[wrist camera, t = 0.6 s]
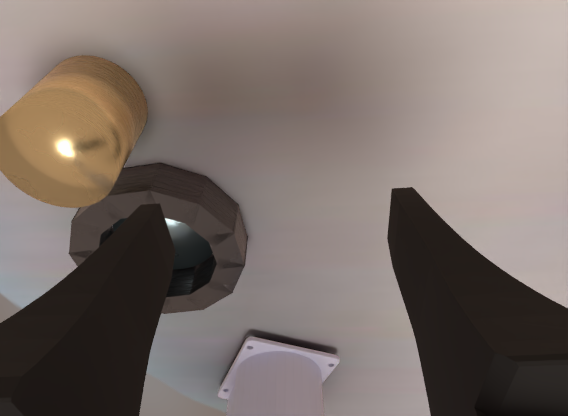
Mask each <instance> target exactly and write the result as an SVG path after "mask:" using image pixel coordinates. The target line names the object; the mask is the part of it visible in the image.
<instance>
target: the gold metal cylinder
mask: <svg viewBox="0 0 568 416" xmlns="http://www.w3.org/2000/svg"><path fill="white" fill-rule="evenodd" d="M147 115H148V109H147V103H146V99H145V96H144V94H143V92H142V90H141V88H140V87H139V85H138V84H137V82H136V81H135V80H134V79H133V78H132V77H131V75H130V74H129V73H127V72H126V71H125V70H124V69H122V68H121V67H119V66H118V65H116V64H114V63H112V62H111V61H108V60H106V59H103V58H99V57H95V56H85V55H82V56H75V57H71V58H68V59H66V60H64V61H62V62H61V63H59V64H58V65H57V66H56V67H55V68H54V69H53V70H52V71H51V72H49V73H48V74H47V75H46V76H45V77H44V78H43V79H42V80H41V81H40V82H38V83H37V84H36V85H35V86H34V87H33V88H32V89H31V90H30V91H29V92H27V93H26V94H25V95H24V96H23V97H22V98H21V99H20V100H19V101H18V102H16V103H15V104H14V105H13V106H12V107H11V108H10V109H9V110H8V111H7V112H5V113H4V114H3V115H2V116H1V117H0V170H1V171H2V173H3V174H4V175H5V176H6V177H7V178H8V179H9V180H10V181H11V182H12V183H13V184H14V185H15V186H16V187H18V188H19V189H20V190H22V191H23V192H25V193H26V194H28V195H30V196H31V197H33V198H35V199H37V200H40V201H42V202H45V203H48V204H51V205H55V206H60V207H70V208H76V207H85V206H89V205H92V204H95V203H97V202H99V201H101V200H102V199H103V198H105V197H106V196H107V195H108V194H109V192H110V191H111V189H112V188H113V186H114V184H115V182H116V180H117V178H118V176H119V174H120V172H121V171H122V169H123V167H124V165H125V163H126V161H127V159H128V157H129V155H130V153H131V152H132V150H133V148H134V146H135V144H136V142H137V140H138V138H139V136H140V134H141V133H142V131H143V129H144V127H145V124H146V121H147Z"/></svg>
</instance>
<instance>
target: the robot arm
mask: <svg viewBox="0 0 568 416" xmlns="http://www.w3.org/2000/svg"><path fill="white" fill-rule="evenodd" d="M388 244H389V250H390V255H391V260H392V265H393V269H394V272H395V275H396V279H397V282H398V285H399V288H400V291H401V294H402V297H403V300H404V303H405V306H406V310H407V313H408V316H409V319H410V322H411V325H412V328H413V332H414V335H415V339H416V343H417V348H418V352H419V357H420V362H421V367H422V371H423V376H424V382H425V387H426V392H427V397H428V402H429V408H430V413H431V416H568V308H566V307H564V306H562V305H560V304H558V303H556V302H554V301H552V300H550V299H549V298H547V297H545V296H543V295H542V294H540V293H538V292H536V291H535V290H533V289H531V288H530V287H528V286H526V285H525V284H523V283H522V282H520V281H518V280H517V279H515V278H514V277H512V276H511V275H509V274H508V273H506V272H505V271H503V270H502V269H500V268H499V267H498V266H496V265H495V264H493V263H492V262H491V261H489V260H488V259H487V258H485V257H484V256H483V255H481V254H480V253H479V252H478V251H476V250H475V249H474V248H473V247H472V246H471V245H469V244H468V243H467V242H466V241H465V240H464V239H463V238H461V237H460V236H459V235H458V234H457V233H456V232H455V231H454V230H453V229H452V228H451V227H450V226H449V225H448V224H447V223H446V222H445V221H444V220H443V219H442V218H441V217H440V216H439V215H438V214H437V213H436V212H435V211H434V210H433V209H432V208H431V207H430V206H429V205H428V204H427V202H426V201H425V200H424V199H423V198H422V197H421V196H420V195H419V194H418V193H417V191H416V190H415V189H413V188H412V187H410V188H394V189H392V193H391V205H390V216H389V227H388ZM174 258H175V247H174V244H173V241H172V238H171V235H170V232H169V229H168V226H167V223H166V220H165V217H164V214H163V211H162V208H161V205H160V203H158V204H142V205H140V206H139V207H138V208H137V209H136V210H135V211H134V212H133V213H132V214H131V215H130V216H129V217H128V218H127V219H126V220H125V221H124V222H123V223H122V224H121V225H120V226H119V227H118V228H117V229H116V231H115V232H114V233H113V234H112V235H111V236H110V237H109V238H108V239H107V240H106V241H105V242H104V243H103V244H102V245H101V246H100V247H99V248H98V249H97V250H95V251H94V252H93V253H92V254H91V255H90V256H89V257H88V258H87V259H86V260H85V261H84V262H82V263H81V264H80V265H79V266H78V267H77V268H76V269H75V270H74V271H72V272H71V273H70V274H69V275H68V276H67V277H65V278H64V279H63V280H62V281H60V282H59V283H58V284H57V285H55V286H54V287H53V288H51V289H50V290H49V291H48V292H46V293H45V294H43V295H42V296H41V297H39V298H38V299H36V300H35V301H33V302H32V303H30V304H29V305H27V306H26V307H25V308H23V309H22V310H20V311H19V312H17V313H16V314H14V315H13V316H11V317H10V318H8V319H6V320H5V321H3V322H2V323H0V416H139V412H140V406H141V399H142V393H143V387H144V381H145V375H146V370H147V365H148V360H149V354H150V350H151V346H152V342H153V338H154V335H155V332H156V328H157V325H158V322H159V318H160V315H161V312H162V309H163V305H164V302H165V299H166V295H167V292H168V288H169V285H170V281H171V277H172V271H173V265H174ZM339 362H340V359H339V356H337V355H334V354H330V353H325V352H321V351H316V350H312V349H307V348H303V347H298V346H294V345H289V344H284V343H280V342H275V341H271V340H266V339H262V338H257V337H248V338H247V339H246V340H245V342H244V344H243V346H242V348H241V350H240V351H239V353H238V355H237V357H236V359H235V361H234V363H233V364H232V366H231V368H230V370H229V372H228V374H227V376H226V377H225V379H224V381H223V383H222V385H221V387H220V389H219V391H218V397H220V398H223V399H228V403H227V412H226V416H324V406H323V391H322V383H323V382H324V381H325V380H326V378H327V377H328V376H329V375H330V373H331V372H332V371H333V370H334V368H335V367H336V366H337V365H338V364H339Z"/></svg>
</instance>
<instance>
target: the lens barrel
mask: <svg viewBox="0 0 568 416" xmlns="http://www.w3.org/2000/svg"><path fill="white" fill-rule="evenodd" d="M158 203H160V205H161V208H162V211H163V214H164V217H165V220H166V223H167V226H168V229H169V232H170V235H171V238H172V241H173V244H174V247H175V258H174V265H173V271H172V277H171V281H170V285H169V288H168V292H167V295H166V299H165V302H164V305H163V309H162V312H161V313H164V314H167V313H176V312H186V311H195V310H204V309H205V308H207V307H209V306H210V305H212V304H214V303H216V302H217V301H219V300H221V299H222V298H224V297H226V296H228V295H229V294H231V293H233V290H234V288H235V286H236V283H237V281H238V279H239V277H240V275H241V272H242V270H243V268H244V266H245V259H246V249H247V240H248V236H247V233H246V230H245V226H244V223H243V220H242V216H241V213H240V210H239V205H238V204H237V203H236V202H234V201H233V200H232V199H231V198H230V197H229V196H228V195H226V194H225V193H224V192H223V191H222V190H221V189H220V188H218V187H217V186H216V185H215V184H214V183H213V182H212V181H211V180H209V179H208V178H207V177H206V176H202V175H199V174H195V173H192V172H189V171H185V170H182V169H178V168H175V167H172V166H168V165H165V164H162V163H158V164H151V165H144V166H137V167H130V168H123V169H122V171H121V172H120V174H119V176H118V178H117V180H116V182H115V184H114V186H113V188H112V189H111V191H110V192H109V194H108V195H107V196H106V197H105V198H103V199H102V200H101V201H99V202H97V203H95V204H92V205H89V206H85V207H80V208H79V209H78V211H77V213H76V215H75V216H74V218H73V220H72V221H71V222H72V225H71V237H70V249H69V254H70V256H71V257H72V259H73V260H74V262H75V263H76V265H77V266H79V265H80V264H81V263H82V262H84V261H85V260H86V259H87V258H88V257H89V256H90V255H91V254H92V253H93V252H94V251H95V250H97V249H98V248H99V247H100V246H101V245H102V244H103V243H104V242H105V241H106V240H107V239H108V238H109V237H110V236H111V235H112V234H113V233H114V232H115V231H116V229H117V228H118V227H119V226H120V225H121V224H122V223H123V222H124V221H125V220H126V219H127V218H128V217H129V216H130V215H131V214H132V213H133V212H134V211H135V210H136V209H137V208H138V207H139V206H140V205H142V204H158ZM112 225H113V229H112V227H111V226H112ZM212 254H213V255H212Z"/></svg>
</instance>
